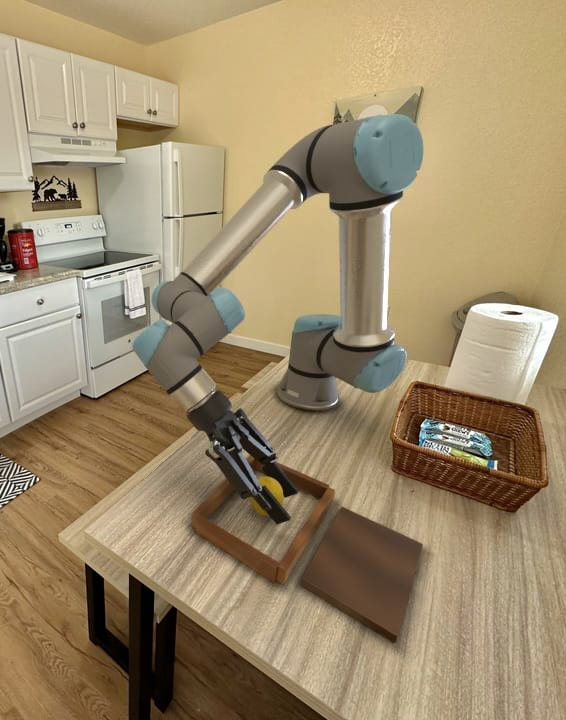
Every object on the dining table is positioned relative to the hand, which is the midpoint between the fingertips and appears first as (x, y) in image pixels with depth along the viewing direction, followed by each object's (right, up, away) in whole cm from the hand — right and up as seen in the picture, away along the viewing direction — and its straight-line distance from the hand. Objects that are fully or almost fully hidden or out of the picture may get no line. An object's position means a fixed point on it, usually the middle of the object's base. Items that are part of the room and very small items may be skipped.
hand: (287, 506), depth 65 cm
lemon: (-3, -3, +3) cm, 5 cm away
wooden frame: (-3, -2, +3) cm, 5 cm away
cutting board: (+9, -7, -7) cm, 13 cm away
